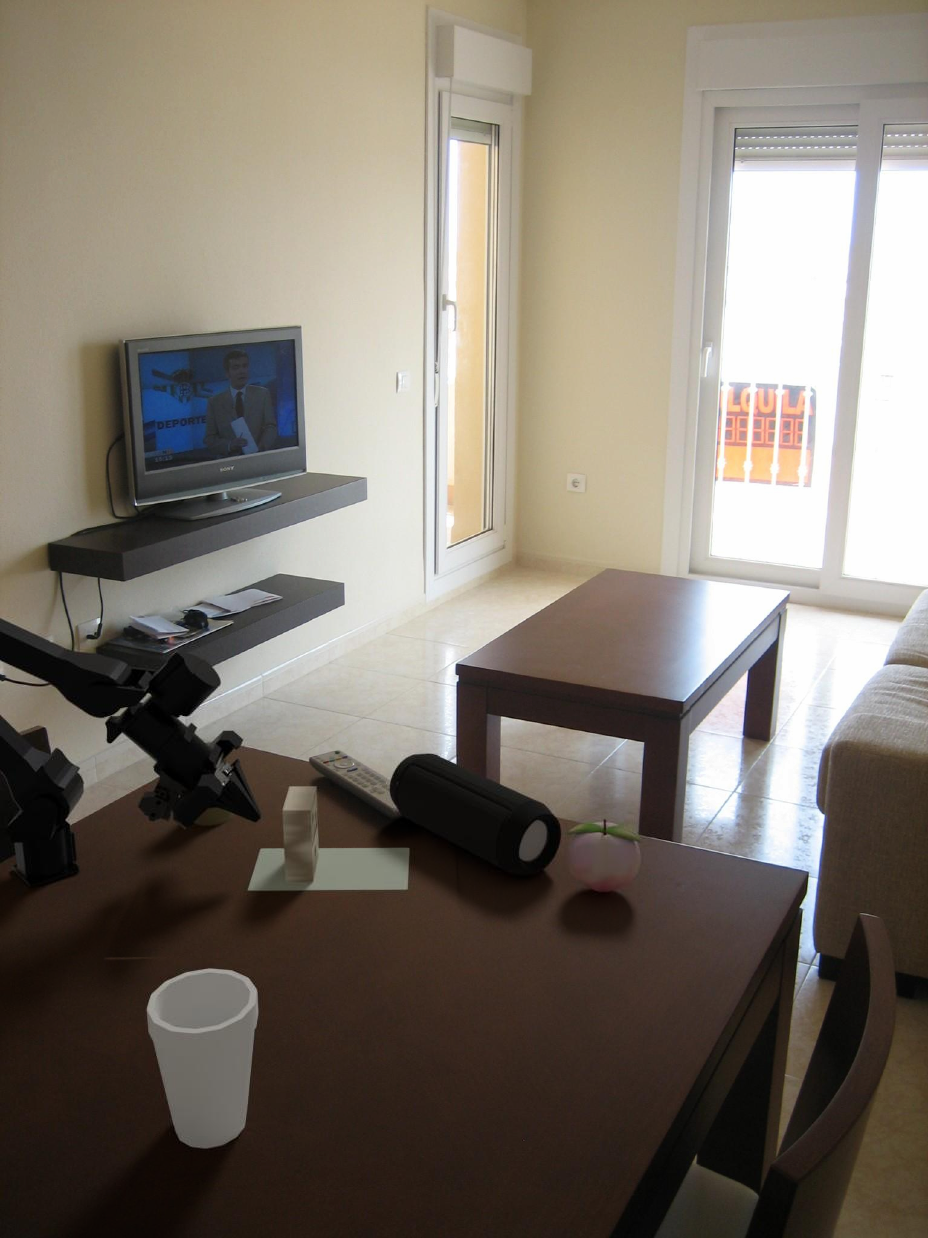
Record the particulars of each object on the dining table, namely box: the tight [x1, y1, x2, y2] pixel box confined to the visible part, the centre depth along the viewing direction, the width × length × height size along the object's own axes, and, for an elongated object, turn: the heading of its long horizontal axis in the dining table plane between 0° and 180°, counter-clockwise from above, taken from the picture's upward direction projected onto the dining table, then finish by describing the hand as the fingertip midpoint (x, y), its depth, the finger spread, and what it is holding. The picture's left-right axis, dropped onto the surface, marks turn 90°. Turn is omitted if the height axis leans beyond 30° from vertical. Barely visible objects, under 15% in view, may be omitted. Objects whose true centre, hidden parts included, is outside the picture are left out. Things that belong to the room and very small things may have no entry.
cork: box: [192, 741, 234, 827], centre depth 162 cm, size 6×6×11 cm
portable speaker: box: [389, 753, 562, 876], centre depth 155 cm, size 26×10×10 cm, turn 42°
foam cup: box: [146, 968, 259, 1149], centre depth 103 cm, size 10×9×13 cm
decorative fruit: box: [566, 818, 644, 893], centre depth 143 cm, size 9×8×10 cm
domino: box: [282, 785, 319, 882], centre depth 148 cm, size 4×7×10 cm, turn 1°
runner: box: [247, 847, 411, 892], centre depth 149 cm, size 20×11×1 cm, turn 91°
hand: (258, 819), depth 147 cm, fingers closed
